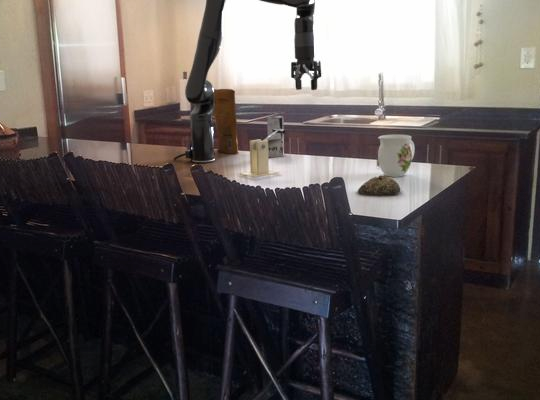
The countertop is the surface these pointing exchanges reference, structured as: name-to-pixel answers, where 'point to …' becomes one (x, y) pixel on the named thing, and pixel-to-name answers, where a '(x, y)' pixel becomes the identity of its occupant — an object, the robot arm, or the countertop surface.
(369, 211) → the countertop surface
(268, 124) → the coffee box
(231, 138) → the pancake mix bag
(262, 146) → the bracket
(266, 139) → the lever
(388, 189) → the mossy brown rock
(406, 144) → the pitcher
